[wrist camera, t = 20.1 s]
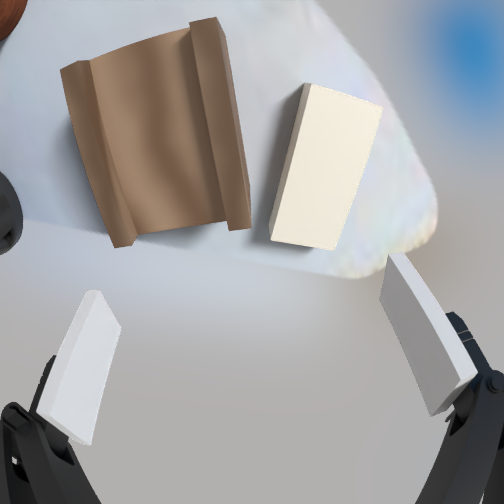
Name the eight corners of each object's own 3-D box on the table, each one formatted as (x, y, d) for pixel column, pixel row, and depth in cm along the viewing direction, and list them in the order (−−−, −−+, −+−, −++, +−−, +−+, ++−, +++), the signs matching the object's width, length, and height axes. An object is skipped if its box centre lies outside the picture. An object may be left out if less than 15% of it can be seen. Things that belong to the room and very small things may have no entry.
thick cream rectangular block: (268, 223, 38) (270, 240, 34) (303, 82, 28) (311, 83, 24) (326, 234, 39) (334, 250, 35) (369, 103, 29) (383, 107, 25)
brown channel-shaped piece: (143, 204, 35) (114, 248, 27) (107, 66, 25) (60, 69, 17) (249, 186, 34) (251, 228, 26) (225, 34, 24) (216, 16, 16)
